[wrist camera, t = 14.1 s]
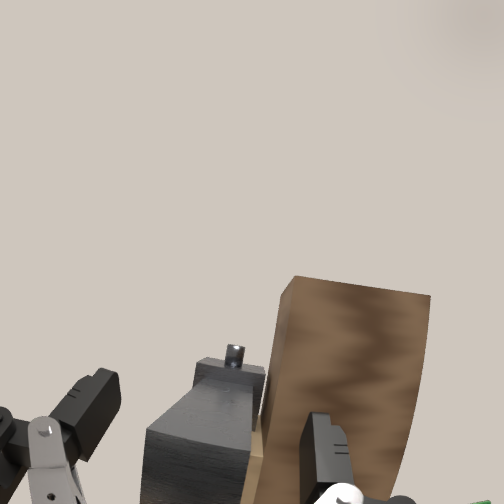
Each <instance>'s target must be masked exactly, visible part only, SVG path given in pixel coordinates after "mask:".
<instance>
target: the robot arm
mask: <svg viewBox="0 0 504 504" xmlns="http://www.w3.org/2000/svg"><path fill="white" fill-rule="evenodd" d="M120 405H121V392H120V385H119V377H118V374H117V373H116V372H114V371H110V370H107V369H104V368H100V369H98V370H97V372H96V373H95V374H94V375H93V376H89V375H87V376H85V377H83V378H82V379H80V380H78V381H77V382H76V384H75V385H74V386H73V387H72V389H71V390H70V391H69V392H68V393H67V395H66V396H65V397H64V398H63V399H62V400H61V401H60V403H59V404H58V405H57V407H56V408H55V409H54V410H53V411H52V412H51V414H50V415H49V416H48V417H47V416H42V417H37V418H35V419H33V420H32V421H31V422H28V421H24V420H19V419H14V418H13V417H12V415H11V412H10V411H9V410H8V409H6V408H4V407H0V504H8V502H9V500H10V499H11V497H12V495H13V493H14V492H15V490H16V488H17V487H18V485H19V483H20V482H21V480H22V478H23V477H24V475H25V473H26V472H27V470H28V480H29V487H30V493H31V499H32V504H87V503H86V501H85V498H84V494H83V491H82V488H81V484H80V481H79V476H78V472H77V469H76V465H75V464H76V462H77V460H78V459H80V460H83V461H85V462H88V460H89V459H90V457H91V455H92V454H93V452H94V450H95V448H96V447H97V445H98V444H99V442H100V440H101V439H102V437H103V435H104V434H105V432H106V430H107V429H108V427H109V426H110V424H111V422H112V421H113V419H114V417H115V416H116V414H117V413H118V411H119V409H120ZM347 445H348V444H347V438H346V434H345V433H344V431H343V430H342V429H341V427H340V426H337V425H331V421H330V415H329V413H324V412H312V411H311V412H310V413H309V415H308V418H307V421H306V424H305V426H304V429H303V432H302V434H301V438H300V443H299V470H300V504H416V503H415V502H414V501H413V500H412V499H411V498H409V497H407V496H394V497H392V498H390V499H389V500H388V501H382V500H377V499H373V498H369V497H366V496H364V495H363V494H362V493H361V491H360V490H359V489H358V488H357V487H355V484H354V479H353V473H352V467H351V461H350V455H349V449H348V447H347Z"/></svg>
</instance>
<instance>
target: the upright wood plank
mask: <svg viewBox="0 0 504 504" xmlns="http://www.w3.org/2000/svg"><path fill="white" fill-rule="evenodd" d="M430 298H431V296H430V295H423V294H416V293H409V292H402V291H395V290H388V289H381V288H374V287H367V286H361V285H354V284H347V283H341V282H334V281H328V280H320V279H314V278H308V277H302V276H294V278H293V279H292V281H291V282H290V283H289V284H288V286H287V287H286V289H285V290H284V292H283V293H282V294H281V297H280V304H279V310H278V316H277V323H276V329H275V335H274V341H273V347H272V354H271V359H270V365H269V370H268V376H267V382H266V387H265V393H264V398H263V404H262V409H261V415H258V419H257V425H256V430H255V432H253V431H252V432H251V453H250V458H249V463H248V468H247V473H246V478H245V483H244V488H243V492H242V497H241V502H240V504H300V470H299V443H300V438H301V434H302V432H303V429H304V426H305V424H306V421H307V418H308V415H309V413H310V412H311V411H312V412H324V413H329V415H330V421H331V425H337V426H340V427H341V429H342V430H343V431H344V433H345V434H346V438H347V444H348V445H347V447H348V449H349V455H350V461H351V467H352V473H353V479H354V484H355V487H357V488H358V489H359V490H360V491H361V493H362V494H363V495H364V496H366V497H369V498H373V499H377V500H382V501H388V500H389V499H390V496H391V493H392V490H393V487H394V484H395V481H396V478H397V475H398V472H399V469H400V465H401V462H402V458H403V455H404V451H405V448H406V444H407V440H408V437H409V433H410V429H411V424H412V420H413V416H414V411H415V406H416V402H417V397H418V392H419V386H420V380H421V375H422V369H423V362H424V355H425V348H426V340H427V332H428V322H429V311H430Z"/></svg>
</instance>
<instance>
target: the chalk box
mask: <svg viewBox="0 0 504 504" xmlns="http://www.w3.org/2000/svg"><path fill="white" fill-rule="evenodd" d="M472 504H491V502H490V501H489V500H487V501H482V502H477V503H472Z"/></svg>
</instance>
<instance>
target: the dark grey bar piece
mask: <svg viewBox="0 0 504 504" xmlns="http://www.w3.org/2000/svg"><path fill="white" fill-rule="evenodd" d="M244 352H245V347H243V346H237V345H231V344H228V345H227V351H226V357H225V360H219V359H215V358H209V357H206V358H204V359H202V360H200V361H198V362H197V363H196V369H195V375H194V381H193V387H192V389H191V390H190V391H189V392H188V393H187V394H186V395H184V396H183V397H182V398H181V399H180V400H179V401H178V402H177V403H175V404H174V405H173V406H172V407H171V408H170V409H169V410H167V411H166V412H165V413H164V414H163V415H162V416H160V417H159V418H158V419H157V420H156V421H155V422H153V423H152V424H151V425H150V426H149V427H148V428H147V429H146V438H145V447H144V456H143V467H142V478H141V492H140V504H240V502H241V497H242V492H243V488H244V483H245V478H246V473H247V468H248V463H249V458H250V453H251V432H252V431H253V432H255V430H256V425H257V419H258V413H259V409H260V403H261V397H262V392H263V386H264V380H265V375H266V374H265V370H264V367H261V366H254V365H248V364H242V363H243V357H244Z"/></svg>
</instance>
